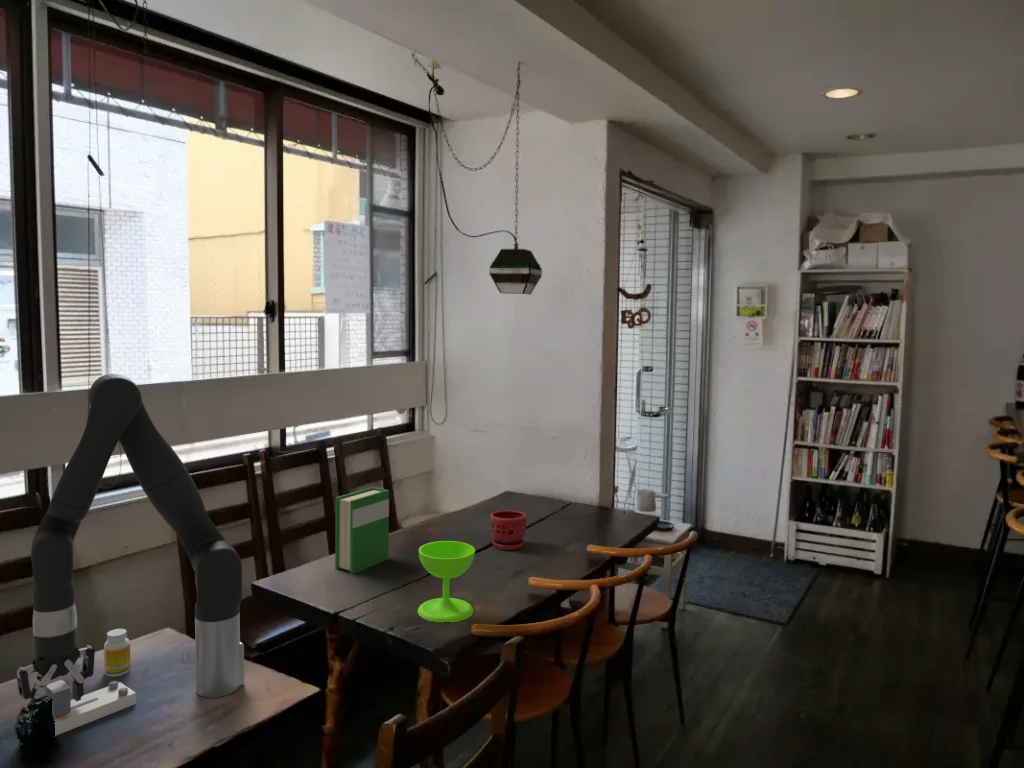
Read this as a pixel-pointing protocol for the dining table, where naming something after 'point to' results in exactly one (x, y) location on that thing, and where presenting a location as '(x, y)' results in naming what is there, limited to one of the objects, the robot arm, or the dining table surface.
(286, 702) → the dining table surface
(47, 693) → the fader tab
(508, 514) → the plant pot
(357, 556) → the hardback book
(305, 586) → the dining table surface
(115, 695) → the console
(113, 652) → the supplement bottle
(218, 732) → the dining table surface
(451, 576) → the wineglass
